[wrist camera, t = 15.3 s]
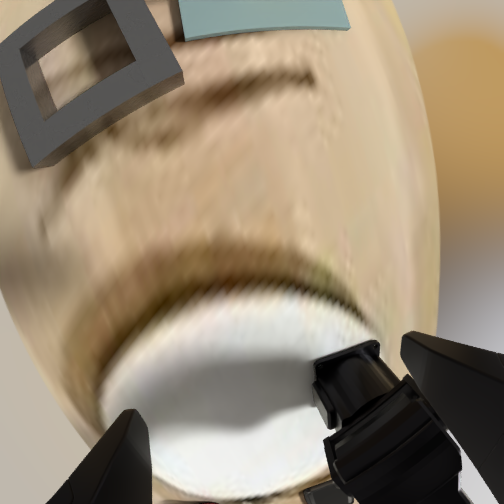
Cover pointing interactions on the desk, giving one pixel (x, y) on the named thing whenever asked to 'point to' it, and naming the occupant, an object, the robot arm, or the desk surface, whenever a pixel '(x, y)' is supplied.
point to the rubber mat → (259, 16)
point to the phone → (326, 494)
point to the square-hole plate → (94, 99)
